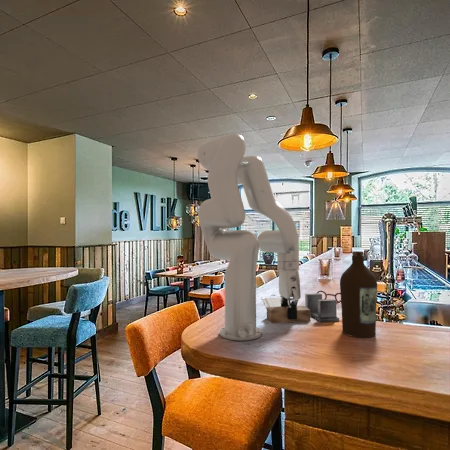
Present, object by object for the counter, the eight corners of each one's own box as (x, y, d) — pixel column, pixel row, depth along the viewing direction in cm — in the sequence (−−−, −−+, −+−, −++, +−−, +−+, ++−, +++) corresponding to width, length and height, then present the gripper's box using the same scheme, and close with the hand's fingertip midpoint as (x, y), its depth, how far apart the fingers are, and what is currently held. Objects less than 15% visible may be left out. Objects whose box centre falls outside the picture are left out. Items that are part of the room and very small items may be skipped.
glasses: (346, 304, 140) (346, 293, 140) (334, 310, 130) (334, 297, 130) (317, 300, 148) (317, 289, 149) (304, 305, 138) (304, 294, 139)
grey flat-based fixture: (339, 321, 113) (339, 300, 113) (320, 322, 111) (320, 301, 112) (319, 310, 127) (319, 292, 127) (303, 311, 126) (302, 293, 126)
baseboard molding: (266, 319, 118) (299, 319, 118) (266, 311, 118) (299, 311, 118) (259, 300, 149) (285, 301, 149) (259, 294, 149) (285, 294, 149)
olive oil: (333, 330, 102) (332, 251, 102) (357, 326, 106) (356, 250, 107) (359, 340, 92) (358, 253, 93) (385, 335, 97) (384, 252, 97)
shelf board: (304, 316, 118) (304, 305, 118) (310, 321, 112) (310, 309, 112) (266, 318, 117) (266, 307, 117) (271, 322, 111) (271, 311, 111)
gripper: (308, 268, 107) (308, 322, 107) (289, 262, 124) (290, 310, 124) (286, 268, 106) (287, 324, 105) (270, 263, 123) (271, 311, 122)
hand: (288, 315), depth 115 cm, fingers closed on shelf board, 6 cm apart
